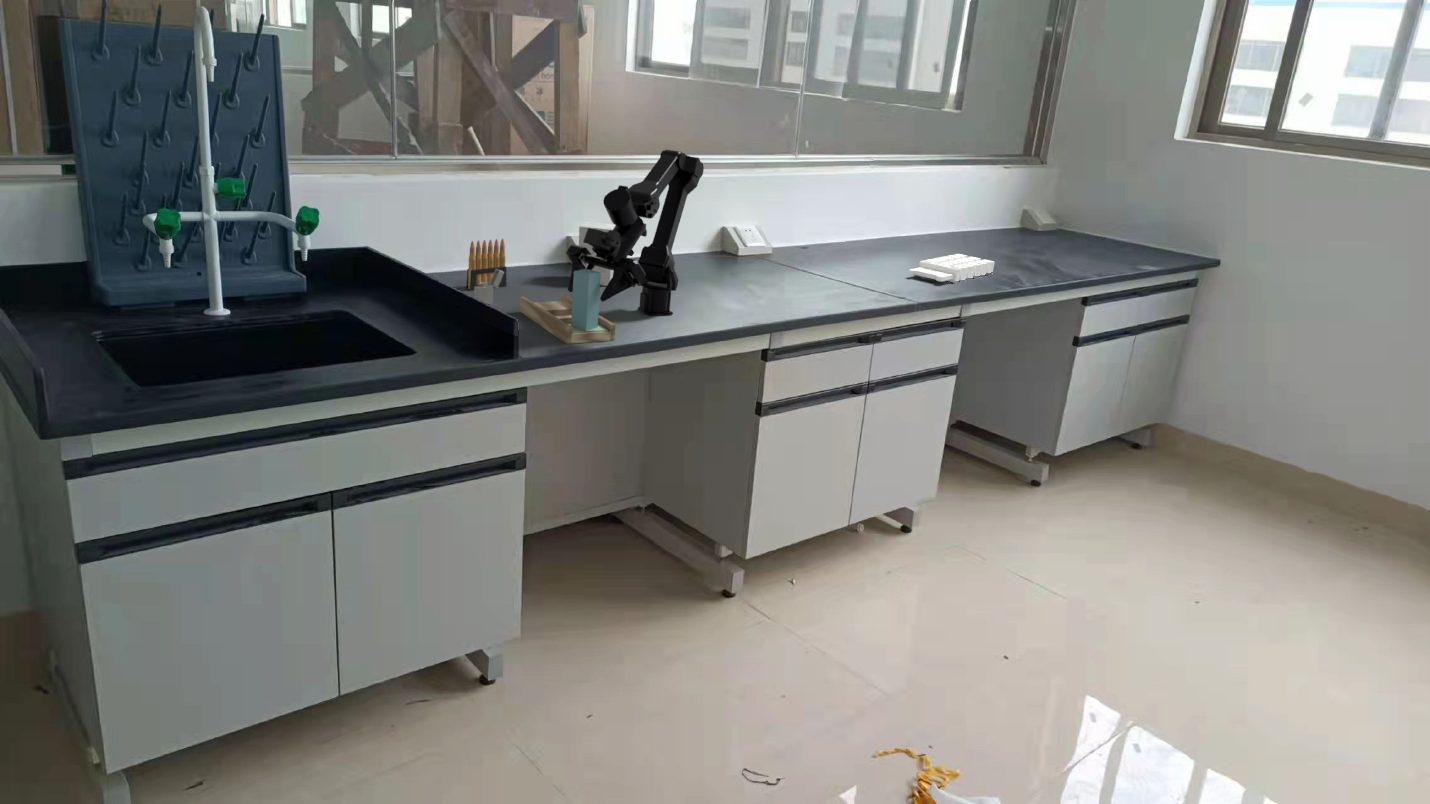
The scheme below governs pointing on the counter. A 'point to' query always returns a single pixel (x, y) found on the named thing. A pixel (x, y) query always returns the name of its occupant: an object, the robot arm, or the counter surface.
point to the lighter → (488, 288)
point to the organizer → (953, 267)
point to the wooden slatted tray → (565, 321)
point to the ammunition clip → (485, 264)
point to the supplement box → (605, 273)
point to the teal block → (585, 299)
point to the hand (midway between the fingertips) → (585, 295)
